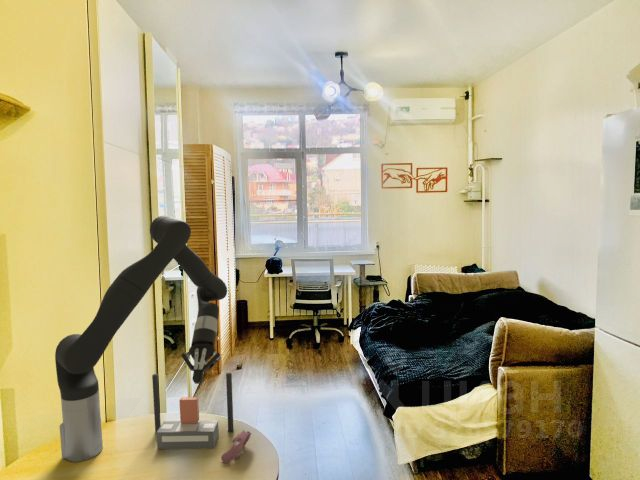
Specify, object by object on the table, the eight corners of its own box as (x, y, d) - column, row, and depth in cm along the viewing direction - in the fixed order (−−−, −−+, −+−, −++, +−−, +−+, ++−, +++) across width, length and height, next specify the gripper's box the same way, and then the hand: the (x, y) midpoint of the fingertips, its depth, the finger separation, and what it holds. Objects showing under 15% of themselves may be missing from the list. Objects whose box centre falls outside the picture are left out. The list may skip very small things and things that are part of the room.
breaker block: (157, 449, 123) (156, 432, 123) (164, 437, 130) (163, 421, 129) (213, 448, 124) (213, 431, 123) (218, 436, 130) (218, 420, 129)
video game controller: (233, 470, 116) (243, 449, 115) (218, 461, 117) (228, 440, 115) (246, 449, 126) (256, 429, 124) (233, 441, 126) (242, 421, 125)
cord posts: (154, 433, 132) (151, 376, 130) (156, 430, 133) (153, 373, 131) (232, 432, 132) (230, 374, 130) (233, 429, 133) (232, 372, 132)
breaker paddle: (180, 422, 127) (179, 399, 126) (182, 420, 129) (181, 397, 128) (197, 422, 127) (196, 399, 127) (199, 419, 129) (198, 397, 128)
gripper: (182, 327, 145) (172, 378, 134) (222, 326, 145) (216, 377, 134) (188, 337, 150) (178, 387, 139) (226, 337, 151) (220, 386, 140)
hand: (197, 382), depth 137 cm, fingers closed
